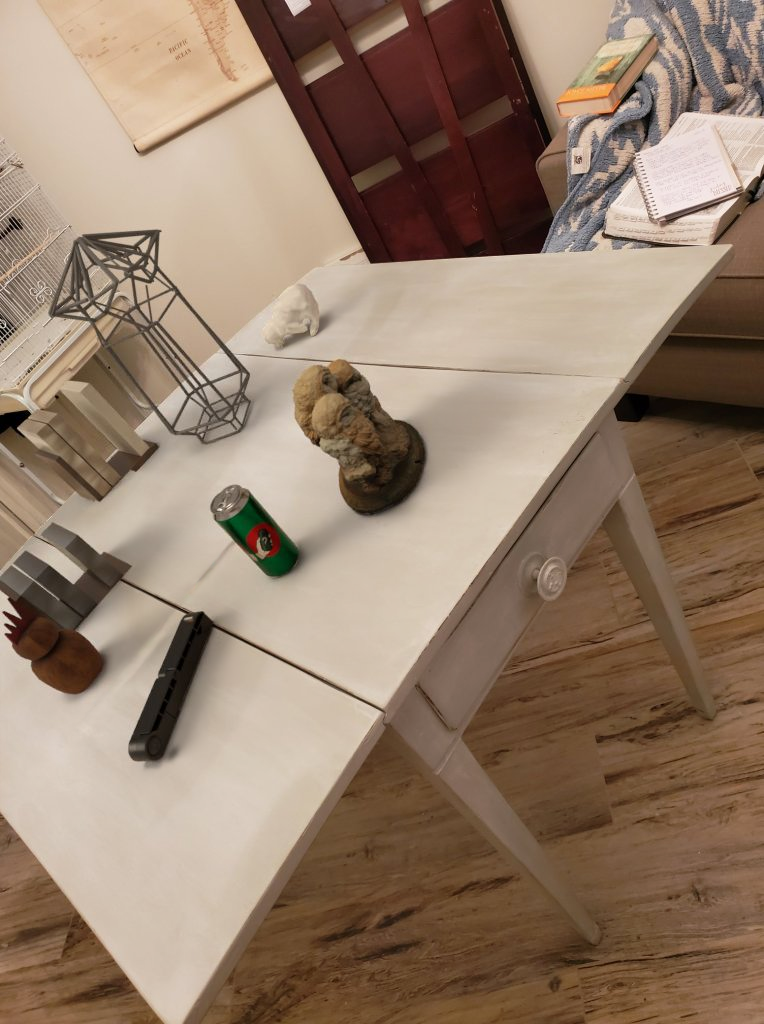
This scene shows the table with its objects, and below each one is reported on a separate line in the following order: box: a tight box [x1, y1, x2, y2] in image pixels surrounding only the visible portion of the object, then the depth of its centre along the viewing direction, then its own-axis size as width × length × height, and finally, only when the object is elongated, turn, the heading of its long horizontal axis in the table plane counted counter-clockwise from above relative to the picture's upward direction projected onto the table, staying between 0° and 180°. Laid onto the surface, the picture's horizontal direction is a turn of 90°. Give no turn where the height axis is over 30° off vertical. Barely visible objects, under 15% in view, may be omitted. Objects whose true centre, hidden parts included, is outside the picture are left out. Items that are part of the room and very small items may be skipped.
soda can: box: [209, 484, 300, 578], centre depth 84 cm, size 5×5×12 cm
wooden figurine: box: [1, 597, 105, 695], centre depth 86 cm, size 7×6×15 cm
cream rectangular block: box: [58, 379, 150, 456], centre depth 124 cm, size 2×9×15 cm, turn 51°
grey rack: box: [0, 522, 133, 631], centre depth 101 cm, size 13×10×10 cm
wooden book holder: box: [16, 408, 160, 503], centre depth 122 cm, size 14×10×16 cm
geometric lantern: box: [47, 228, 252, 445], centre depth 110 cm, size 16×16×35 cm
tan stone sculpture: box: [292, 358, 426, 515], centre depth 86 cm, size 18×12×17 cm, turn 5°
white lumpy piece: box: [261, 282, 320, 348], centre depth 127 cm, size 6×8×12 cm
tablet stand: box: [127, 610, 214, 763], centre depth 80 cm, size 18×3×3 cm, turn 168°
